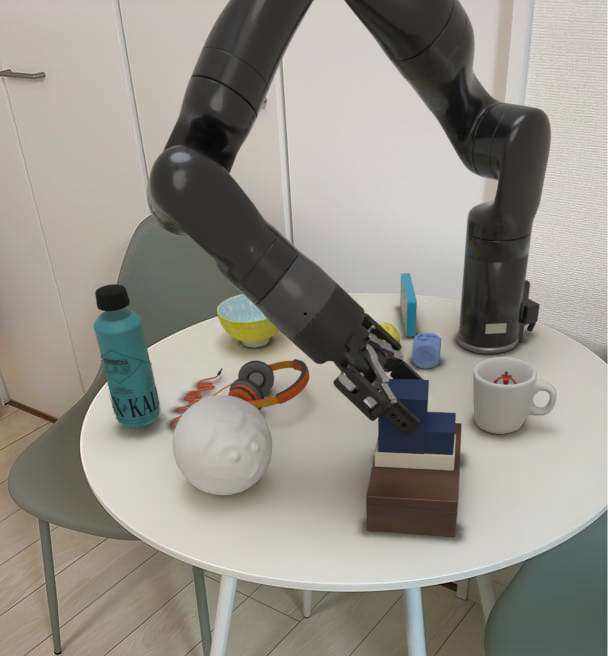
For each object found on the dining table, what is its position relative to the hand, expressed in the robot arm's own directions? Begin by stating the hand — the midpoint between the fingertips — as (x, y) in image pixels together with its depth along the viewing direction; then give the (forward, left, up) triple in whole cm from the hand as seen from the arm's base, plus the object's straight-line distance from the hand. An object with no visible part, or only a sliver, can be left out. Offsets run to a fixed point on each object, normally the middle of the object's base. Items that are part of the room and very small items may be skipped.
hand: (416, 408), depth 84 cm
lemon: (-16, -34, -12) cm, 40 cm away
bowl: (+1, -48, -12) cm, 50 cm away
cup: (-19, -6, -12) cm, 23 cm away
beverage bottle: (+25, -32, -12) cm, 43 cm away
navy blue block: (0, 0, -7) cm, 7 cm away
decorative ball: (+19, -12, -12) cm, 26 cm away
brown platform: (0, 0, -12) cm, 12 cm away
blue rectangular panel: (-24, -41, -12) cm, 49 cm away
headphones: (+10, -30, -12) cm, 34 cm away
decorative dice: (-19, -27, -12) cm, 35 cm away
